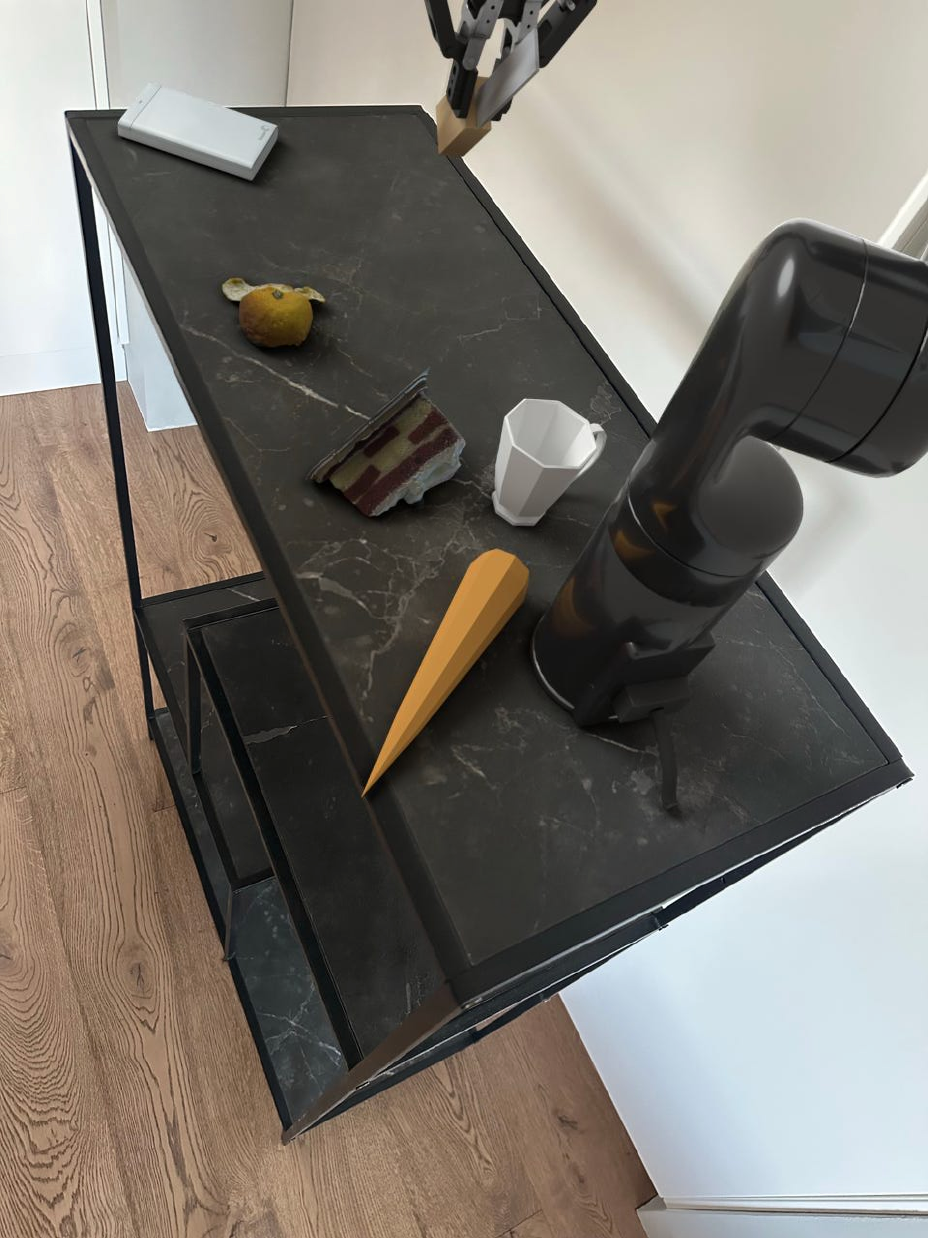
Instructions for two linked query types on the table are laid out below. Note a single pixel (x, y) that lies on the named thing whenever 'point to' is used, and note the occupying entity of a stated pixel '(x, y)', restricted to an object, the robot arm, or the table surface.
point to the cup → (541, 458)
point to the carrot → (457, 645)
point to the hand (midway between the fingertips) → (474, 112)
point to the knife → (487, 100)
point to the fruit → (273, 311)
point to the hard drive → (198, 130)
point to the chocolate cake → (395, 453)
